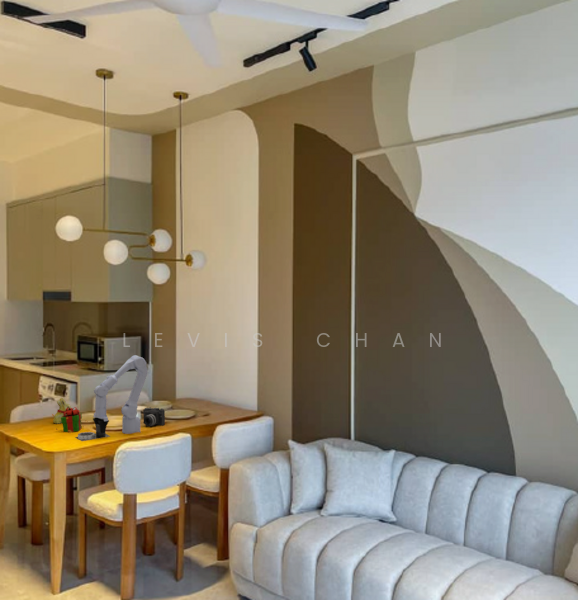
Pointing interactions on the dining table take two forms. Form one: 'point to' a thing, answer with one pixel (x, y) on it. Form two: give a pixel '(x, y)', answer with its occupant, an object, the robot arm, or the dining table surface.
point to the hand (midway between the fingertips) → (100, 431)
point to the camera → (154, 416)
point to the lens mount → (89, 436)
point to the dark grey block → (99, 431)
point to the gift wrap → (71, 420)
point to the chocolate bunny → (60, 410)
